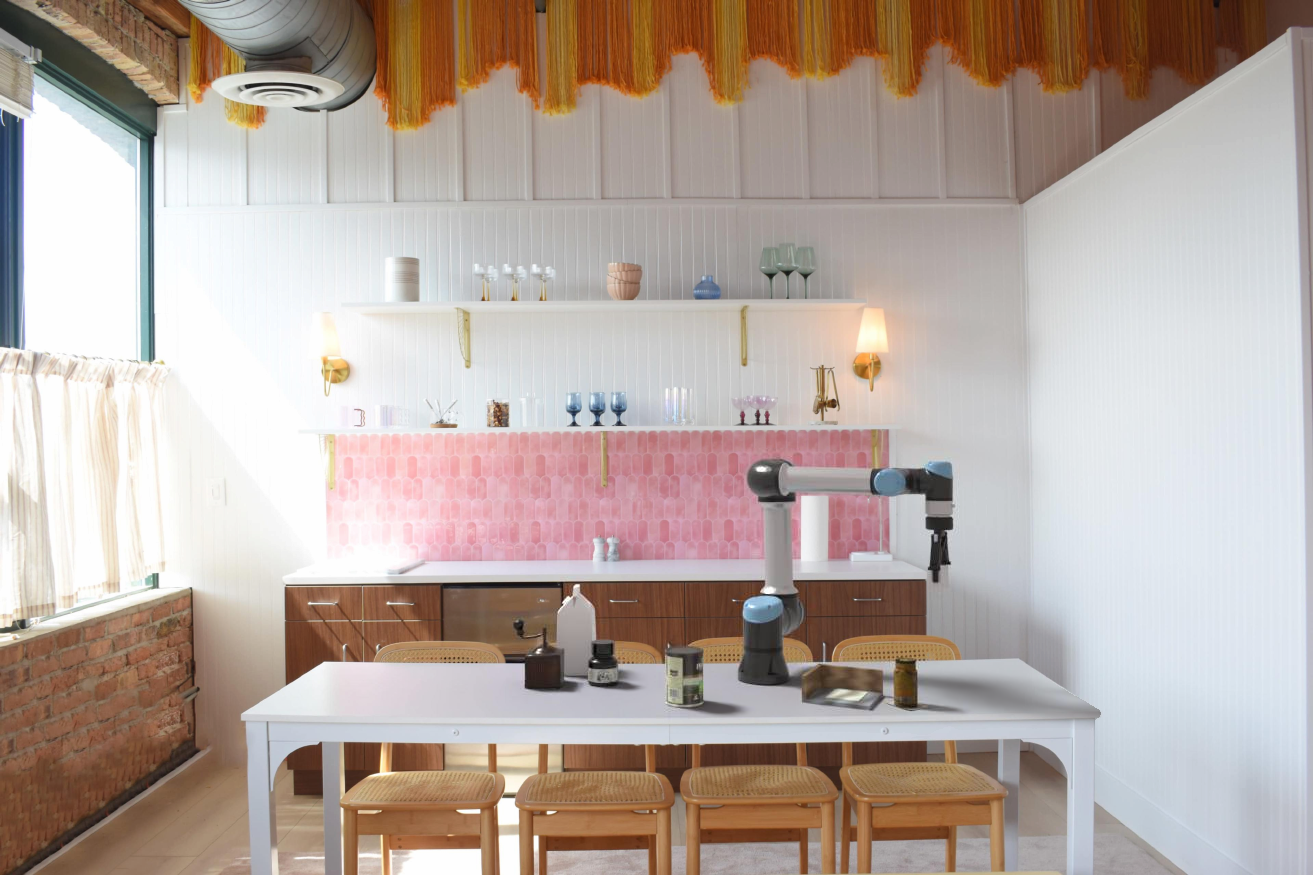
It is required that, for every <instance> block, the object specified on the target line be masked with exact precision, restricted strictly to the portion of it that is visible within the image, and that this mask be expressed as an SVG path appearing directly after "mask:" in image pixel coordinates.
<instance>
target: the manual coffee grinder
mask: <svg viewBox="0 0 1313 875" xmlns="http://www.w3.org/2000/svg"><path fill="white" fill-rule="evenodd" d="M525 627H526V622H525V620H524V619H521V618H520V619H515V620H514V621H513V622H512V628H513V629H514V630H515V632H516V637H519V638H520V639H521V640H529V639H535V638H540V637H542V643H541V644H539V645H538V646H536V647H535V648H533V647H532V648H530V649H529V650H528V651H527V652H526V654H525V655H524V689H528V690H529V689H530V690H533V689H535V690H536V689H537V690H549V689H550V690H551V689H553V690H554V689H557V690H558V689H561V687H562V686H563V685H564V683H565V681H566V679H565V676H564V649H558V648H556V646H553V645H552V644H549V642H547V634H548V631H547V630H548V629H547V627H546V626H543V627H542V632H541V633H538V634H533V635H531V634H530V635H525V634H526V632H525ZM524 635H525V636H524Z"/></svg>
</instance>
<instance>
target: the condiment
mask: <svg viewBox="0 0 1313 875" xmlns="http://www.w3.org/2000/svg"><path fill="white" fill-rule="evenodd" d="M894 661H895V662H894V663H895V665H894V666H895V667H894V669H893V701H888V702H887V704H888V705H891V706H894V707H898V708H901V709H904V710H908V711H914V710H916V711H917V710H922V709H926V708H930V706H928V705H925V704H922V703H918V700H919V699H918V696H919V694H918V684H919V683H918V670H917V661H916V659H915V658H912V657H906V656H905V657H903V656H902V657H901V656H900V657H897V658H895V660H894Z"/></svg>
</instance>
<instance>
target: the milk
mask: <svg viewBox="0 0 1313 875" xmlns="http://www.w3.org/2000/svg"><path fill="white" fill-rule="evenodd" d="M561 604H563V605H562V606H561V607H560V608H559V610H558V611H557V616H556V617H557V619H556V645H555V648H558V649H564V677H565V676H566V677H568V676H573V677H575V676H579V677H580V676H581V677H582V676H583V677H584V676H587V677H588V660H589V659H590V658H591V657H592V656H593V655H592V654H591V653H592V652H591V642H592V641H594V640H597V633H596V611H595V610H596V609H595V606H594V605H593V604H592V602H590V600H588V599H587V598H586V597H585V596H584V595H583V594H582V593H581V585H580V584H575V585H574V586H573V588H572V596H571V597H570V596H569V595H568V596H566V598H565V599H564V600H563V601H562V602H561Z"/></svg>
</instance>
